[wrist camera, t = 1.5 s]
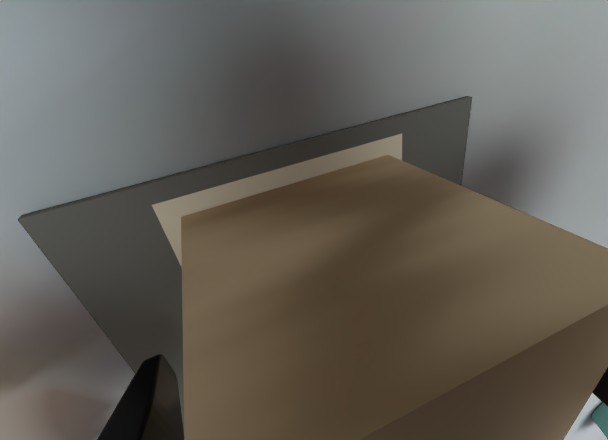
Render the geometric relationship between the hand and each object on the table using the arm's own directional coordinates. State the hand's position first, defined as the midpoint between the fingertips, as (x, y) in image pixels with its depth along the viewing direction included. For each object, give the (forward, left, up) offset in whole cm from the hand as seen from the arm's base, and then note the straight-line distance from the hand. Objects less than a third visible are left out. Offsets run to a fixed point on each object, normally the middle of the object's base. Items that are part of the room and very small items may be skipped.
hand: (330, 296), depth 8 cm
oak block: (0, 0, -2) cm, 2 cm away
